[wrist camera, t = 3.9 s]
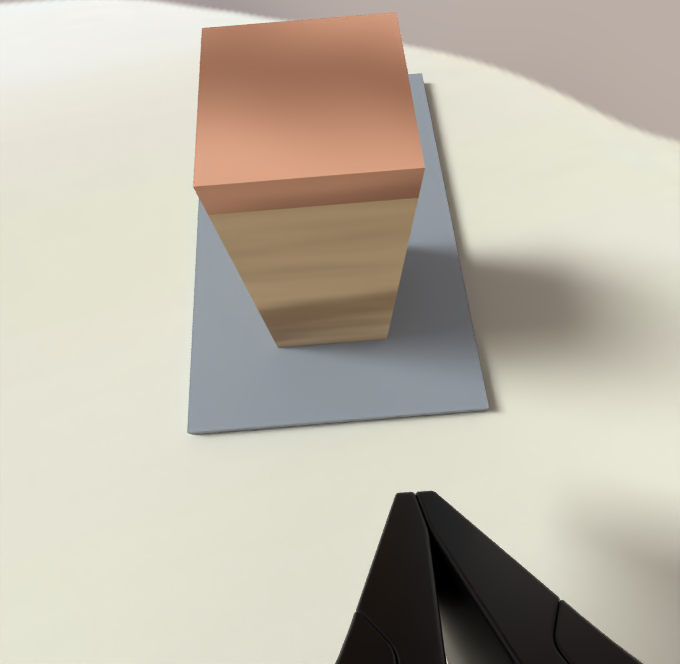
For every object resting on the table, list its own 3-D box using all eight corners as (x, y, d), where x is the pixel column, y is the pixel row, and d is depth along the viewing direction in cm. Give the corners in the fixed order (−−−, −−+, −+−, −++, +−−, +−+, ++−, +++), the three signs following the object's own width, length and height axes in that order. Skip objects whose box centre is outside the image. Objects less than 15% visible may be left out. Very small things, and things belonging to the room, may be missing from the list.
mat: (485, 410, 19) (489, 408, 18) (192, 434, 19) (187, 432, 18) (420, 82, 26) (421, 73, 25) (207, 99, 26) (204, 91, 25)
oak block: (386, 338, 19) (425, 168, 9) (277, 347, 19) (193, 186, 9) (375, 245, 21) (396, 12, 11) (275, 253, 21) (201, 27, 11)
